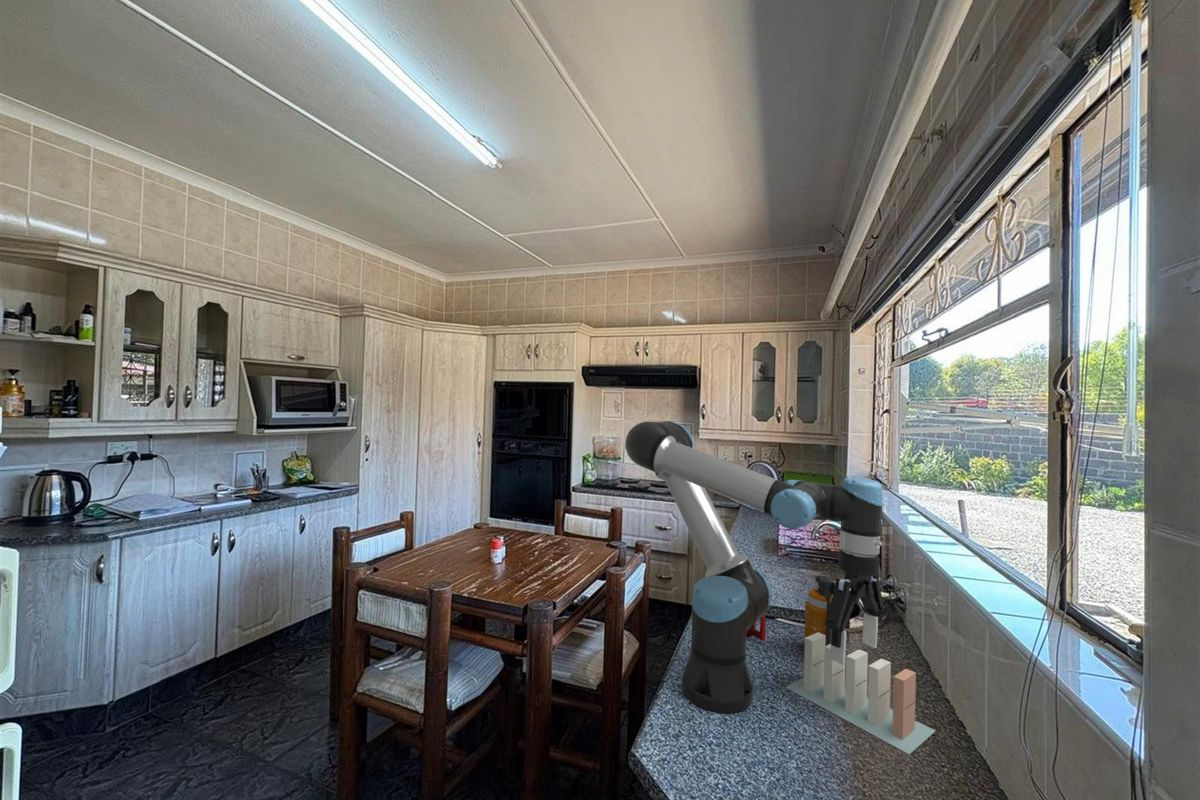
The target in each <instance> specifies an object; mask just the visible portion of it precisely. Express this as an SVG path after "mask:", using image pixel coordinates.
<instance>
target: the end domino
mask: <svg viewBox="0 0 1200 800" xmlns="http://www.w3.org/2000/svg"><path fill="white" fill-rule="evenodd" d="M916 683H917V672H916V671H913V670H910V669H908V668H904V669H903V670H902V671H899V672H898V673H897V674H895V675H893V687H892V688H893V691H892V710H893V733H892V734H893V735H895V736H897V737H898V738H900V739H902V740H903V739H904V738H905V737H907V736H908V735H909V734H910V733H911V732H913V731H914V730H915V721H916V691H917V688H916Z"/></svg>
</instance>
